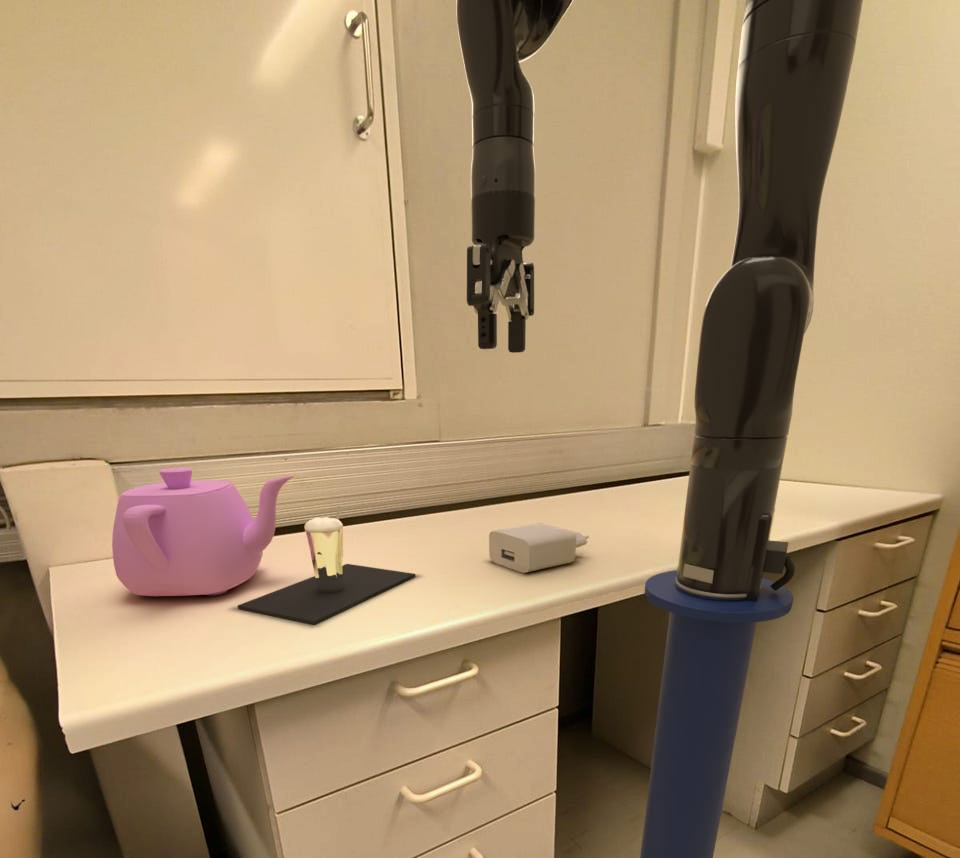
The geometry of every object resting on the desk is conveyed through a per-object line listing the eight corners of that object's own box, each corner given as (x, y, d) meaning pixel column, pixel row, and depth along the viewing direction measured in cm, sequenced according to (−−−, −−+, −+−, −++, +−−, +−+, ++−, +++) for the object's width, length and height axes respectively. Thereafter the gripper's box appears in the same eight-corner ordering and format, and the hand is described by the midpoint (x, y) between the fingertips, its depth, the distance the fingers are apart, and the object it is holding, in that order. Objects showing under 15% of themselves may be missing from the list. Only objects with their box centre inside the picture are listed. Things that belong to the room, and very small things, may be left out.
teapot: (81, 618, 67) (40, 484, 61) (168, 567, 86) (143, 461, 80) (280, 614, 67) (259, 480, 61) (322, 564, 87) (309, 458, 81)
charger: (605, 557, 88) (528, 575, 80) (563, 545, 95) (488, 560, 87) (607, 526, 86) (528, 541, 78) (564, 516, 93) (488, 529, 85)
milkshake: (361, 585, 76) (353, 507, 72) (331, 596, 71) (322, 515, 68) (335, 580, 78) (326, 504, 74) (305, 591, 74) (294, 511, 70)
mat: (415, 576, 80) (415, 573, 80) (314, 624, 64) (313, 621, 64) (347, 566, 85) (347, 563, 85) (237, 608, 69) (237, 605, 69)
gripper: (505, 173, 61) (505, 346, 67) (555, 206, 72) (550, 352, 79) (444, 185, 64) (449, 349, 70) (500, 215, 76) (500, 354, 82)
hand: (502, 350), depth 75 cm, fingers open, 8 cm apart
